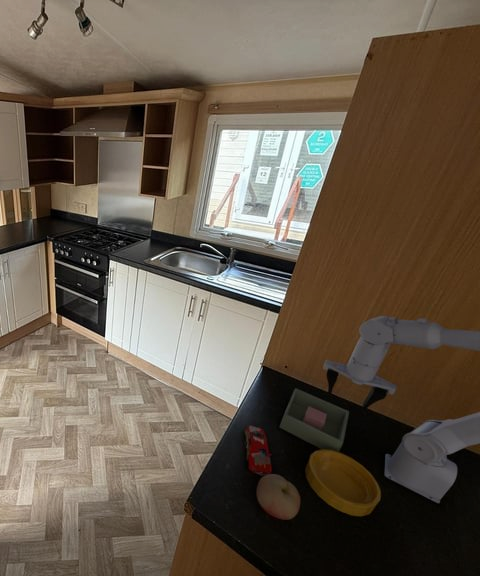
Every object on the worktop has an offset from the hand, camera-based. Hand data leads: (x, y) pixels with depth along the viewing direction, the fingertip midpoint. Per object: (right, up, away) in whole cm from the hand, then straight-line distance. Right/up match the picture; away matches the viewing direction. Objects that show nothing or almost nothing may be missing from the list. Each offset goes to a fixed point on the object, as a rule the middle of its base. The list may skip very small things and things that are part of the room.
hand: (346, 399), depth 84 cm
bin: (-7, -9, +3) cm, 12 cm away
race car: (-27, -13, -4) cm, 30 cm away
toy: (-7, -8, +3) cm, 12 cm away
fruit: (-29, -18, -16) cm, 37 cm away
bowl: (-11, -16, -12) cm, 23 cm away
